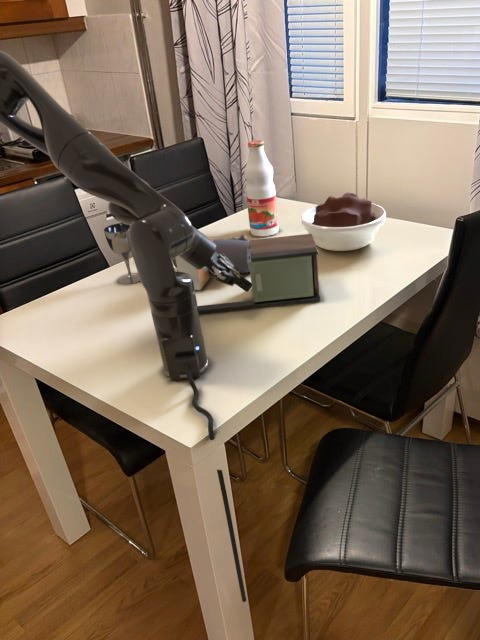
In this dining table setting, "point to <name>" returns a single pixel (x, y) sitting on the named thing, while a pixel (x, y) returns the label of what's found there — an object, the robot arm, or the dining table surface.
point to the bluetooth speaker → (233, 253)
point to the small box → (193, 273)
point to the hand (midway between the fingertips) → (249, 288)
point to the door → (281, 278)
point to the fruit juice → (260, 192)
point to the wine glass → (121, 248)
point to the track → (252, 304)
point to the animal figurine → (239, 238)
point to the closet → (288, 244)
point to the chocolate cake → (343, 222)
